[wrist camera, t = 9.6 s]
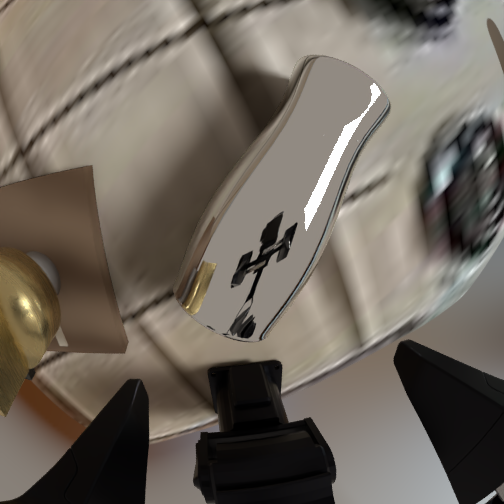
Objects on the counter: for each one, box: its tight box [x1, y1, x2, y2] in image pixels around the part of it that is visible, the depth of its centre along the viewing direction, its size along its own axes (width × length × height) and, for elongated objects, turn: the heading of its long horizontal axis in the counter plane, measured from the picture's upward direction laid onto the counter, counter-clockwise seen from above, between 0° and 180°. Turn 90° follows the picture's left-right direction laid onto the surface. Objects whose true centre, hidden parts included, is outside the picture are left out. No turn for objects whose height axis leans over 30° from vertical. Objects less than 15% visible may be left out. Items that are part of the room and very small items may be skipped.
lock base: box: [0, 165, 128, 353], centre depth 16 cm, size 14×11×4 cm
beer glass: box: [173, 55, 391, 342], centre depth 15 cm, size 7×7×15 cm
